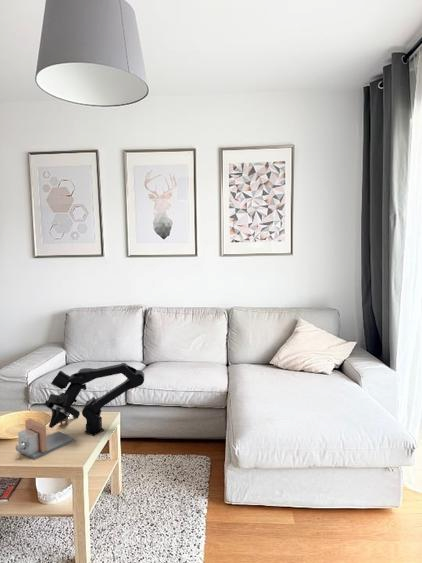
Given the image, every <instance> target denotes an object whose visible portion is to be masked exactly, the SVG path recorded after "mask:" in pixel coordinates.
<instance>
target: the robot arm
mask: <svg viewBox="0 0 422 563" xmlns="http://www.w3.org/2000/svg"><path fill="white" fill-rule="evenodd" d="M119 374H122V375H123V376H124V377H126V379H125V380H124V381H123V382H121V383H120V384H119V385H117V386H115V387H114V388H112V389H110V390H109V391H108V392H106V393H105V394H103V395H102V396H100V397H97V398H95V396H93V397H92V398H90V399H88V400H86V402H85V404H84V407H83V408H82V410H81V414H80V411H78V410H77V408H75V407H73V405H74V403H77V401H78V400H77V398H78V396H79V394H80V393H81V391H82V390H83V391H87V389H88V388H87V383H90V382H92V381H95V379H99V378H104V377H110V376H114V375H119ZM144 383H145V373H144V372H143V371H142V370H140V369H136V368H135V367H133V366H131V365H128V364H127V363H126V362H122V363H118V364H113V365H108V366H103V367H99V368H93V367H92V368H91V367H89V368H87V367H86V368H85V367H84V368H80V369H79V370H78V371H77V372H75V373H73V374H71V375H69V374H67V373H65V372H64V371H63V370H59V372H58V373H57V375H55V377H54V378H53V379H52V381H51V383H50V384H51V385H53V386H55V387H56V388H58V389H60V390H64V389H66V390H65V391H64V392H61V393H59V394H55V393H49V396H48V399H47V400H46V401H44V403H43V405H44V406H45V407H46V408H48V409H50V410H51V413H52V414H51V418H50V421H49V425H48V428H50V429H52V428H54V427H55V426H56V425H58V424H60V422H61V421H62V420H64V419H65V418H68V415H69V414H70V416H72V418H73V419H74V418H76V419H79V417H80V415H82V416H83V418H85V420H86V424H85V430H84V433H85V434H88V435H90V436H96V435H97V434H100V433H102V432H103V431H105V429H104V428H103V420H102V419H103V417H102V416H101V414H102V408H103V407H104V406H106V405H108V404H109V403H111V402H112V401H113V400H115V399H117V398H118V397H120V396H121V395H122V394H124V393H126V392H128V391H129V390H131V389H132V390H133V389H135V388H137V387H140V386H142V385H143V384H144ZM67 386H68V387H67ZM62 422H63V421H62Z"/></svg>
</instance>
